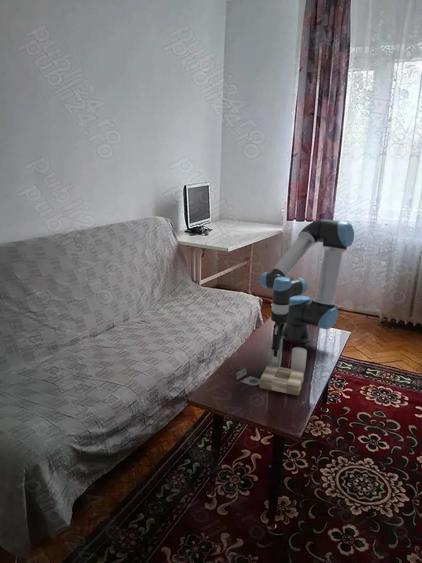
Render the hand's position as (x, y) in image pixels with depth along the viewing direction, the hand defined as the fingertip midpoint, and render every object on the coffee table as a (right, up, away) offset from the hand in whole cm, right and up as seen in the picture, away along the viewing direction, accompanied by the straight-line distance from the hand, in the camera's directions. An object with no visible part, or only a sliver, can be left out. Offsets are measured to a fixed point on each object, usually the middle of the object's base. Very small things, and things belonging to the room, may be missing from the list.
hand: (276, 360), depth 191 cm
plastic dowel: (+10, -4, -2) cm, 10 cm away
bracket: (-14, -7, -13) cm, 20 cm away
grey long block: (0, -3, +1) cm, 3 cm away
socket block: (0, -7, -16) cm, 17 cm away
